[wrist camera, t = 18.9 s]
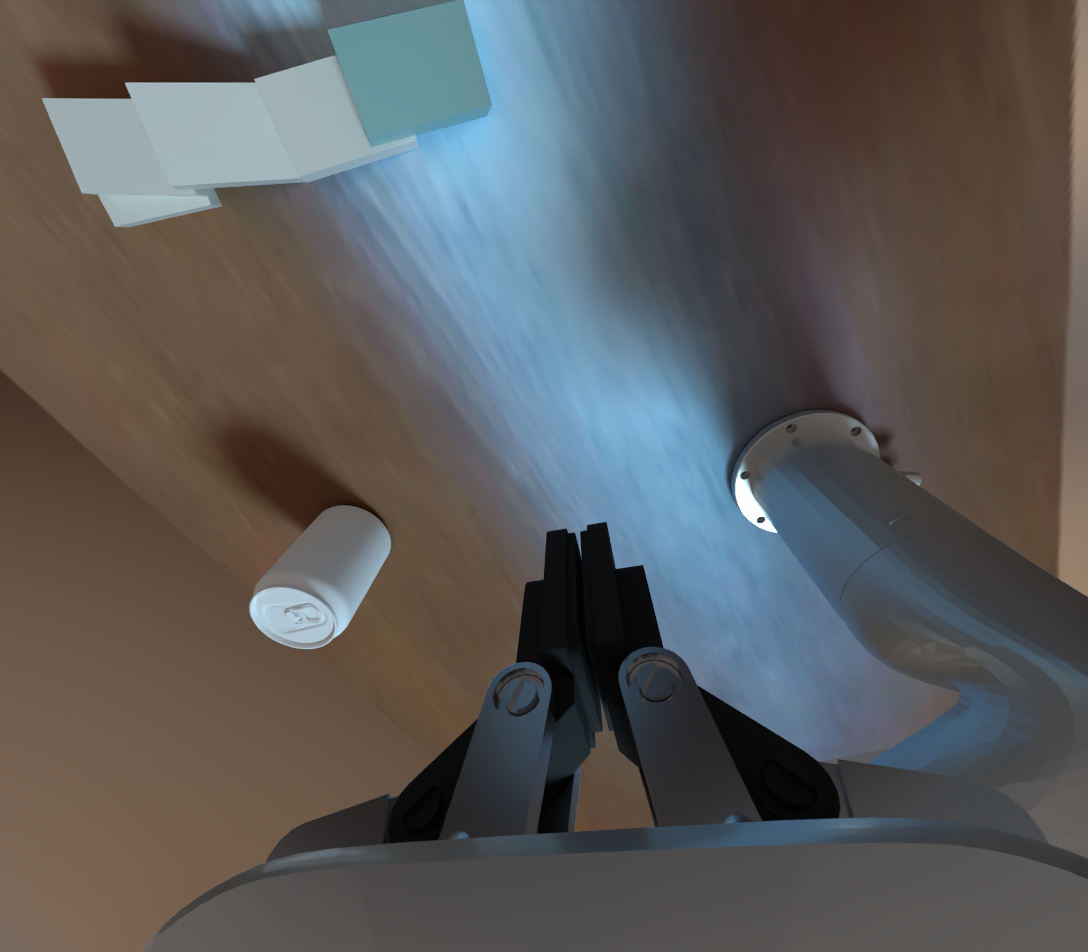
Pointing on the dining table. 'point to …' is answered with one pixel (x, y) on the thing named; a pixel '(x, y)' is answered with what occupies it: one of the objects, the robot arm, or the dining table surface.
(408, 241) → the dining table surface
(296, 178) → the domino
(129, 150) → the domino
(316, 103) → the domino
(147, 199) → the domino
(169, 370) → the dining table surface
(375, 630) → the dining table surface
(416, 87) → the domino
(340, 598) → the beverage can
